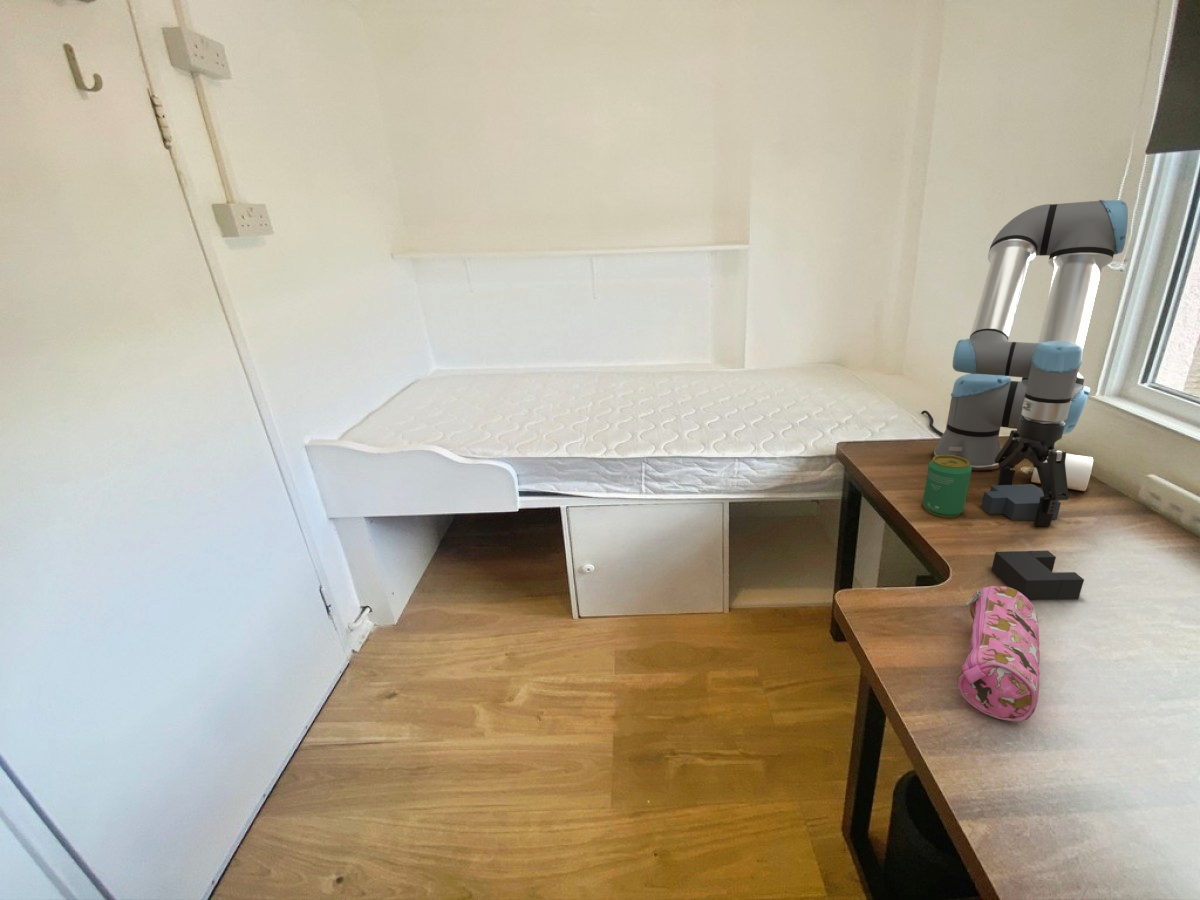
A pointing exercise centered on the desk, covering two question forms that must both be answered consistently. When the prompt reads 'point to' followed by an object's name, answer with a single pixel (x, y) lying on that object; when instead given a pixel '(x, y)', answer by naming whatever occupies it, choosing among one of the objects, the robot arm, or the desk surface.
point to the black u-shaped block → (1036, 575)
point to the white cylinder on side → (1073, 471)
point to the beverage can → (946, 485)
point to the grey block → (1014, 501)
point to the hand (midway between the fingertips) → (1020, 510)
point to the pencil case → (1002, 655)
